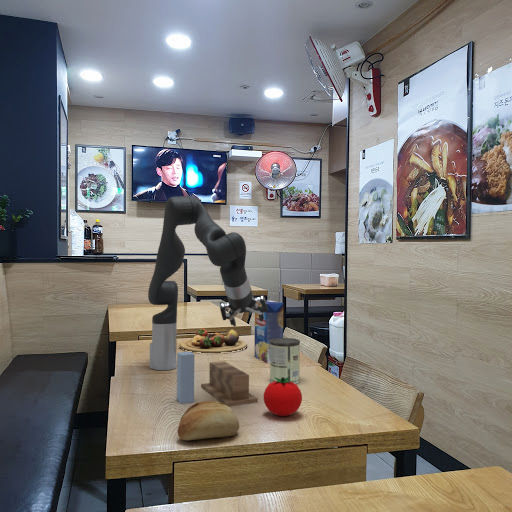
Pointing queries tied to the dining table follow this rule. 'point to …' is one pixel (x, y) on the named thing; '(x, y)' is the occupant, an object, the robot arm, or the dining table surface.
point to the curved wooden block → (228, 384)
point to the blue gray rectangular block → (185, 377)
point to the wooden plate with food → (213, 342)
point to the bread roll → (208, 421)
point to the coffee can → (284, 359)
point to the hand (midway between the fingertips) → (247, 321)
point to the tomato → (282, 397)
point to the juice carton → (268, 329)
